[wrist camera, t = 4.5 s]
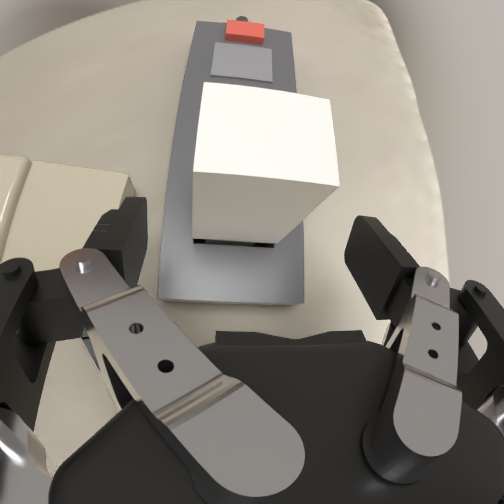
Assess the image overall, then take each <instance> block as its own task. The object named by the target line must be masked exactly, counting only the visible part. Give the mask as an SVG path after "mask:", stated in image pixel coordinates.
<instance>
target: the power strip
mask: <svg viewBox="0 0 504 504" xmlns="http://www.w3.org/2000/svg"><path fill="white" fill-rule="evenodd" d="M204 82H210V83H222V84H233V85H242V86H250V87H258V88H265V89H272V90H279V91H285V92H291V93H297V92H296V80H295V69H294V58H293V47H292V37H291V33H290V32H284V31H279V30H273V29H267V28H264V24H259V23H252V22H248V19H247V18H246V17H243V16H240V17H238V18H237V19H236V21H235V20H227V23H217V22H203V21H197V23H196V27H195V31H194V35H193V39H192V44H191V48H190V53H189V57H188V62H187V67H186V71H185V76H184V81H183V87H182V92H181V97H180V103H179V108H178V114H177V120H176V126H175V132H174V139H173V145H172V152H171V159H170V167H169V174H168V182H167V191H166V199H165V208H164V218H163V229H162V240H161V252H160V266H159V282H158V299H160V300H162V301H169V302H187V303H208V304H234V305H271V306H291V305H297V304H303V303H304V234H303V220H302V221H301V222H300V223H299V224H298V225H297V226H296V227H295V228H294V229H293V230H292V231H290V232H289V233H288V234H287V235H286V236H285V237H284V238H283V239H282V240H281V241H280V242H278V243H277V244H276V243H263V247H246V246H229V245H211V244H194V239H193V238H192V200H193V166H194V157H195V148H196V139H197V130H198V122H199V114H200V107H201V99H202V92H203V85H204Z"/></svg>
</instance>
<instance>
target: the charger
mask: <svg viewBox="0 0 504 504" xmlns="http://www.w3.org/2000/svg"><path fill="white" fill-rule="evenodd" d="M338 187H339V175H338V165H337V155H336V146H335V137H334V129H333V121H332V114H331V107H330V100H328V99H323V98H318V97H313V96H308V95H302V94H297V93H291V92H285V91H279V90H272V89H265V88H258V87H250V86H242V85H233V84H222V83H210V82H204V85H203V92H202V99H201V107H200V114H199V122H198V130H197V139H196V148H195V157H194V166H193V200H192V238H193V239H206V244H222V245H239V246H252V245H253V244H254V243H255V242H260V243H276V244H277V243H278V242H280V241H281V240H282V239H283V238H284V237H285V236H286V235H287V234H288V233H289V232H290V231H292V230H293V229H294V228H295V227H296V226H297V225H298V224H299V223H300V222H301V221H302V220H304V219H305V218H306V217H307V216H308V215H309V214H310V213H311V212H312V211H313V210H314V209H315V208H317V207H318V206H319V205H320V204H321V203H322V202H323V201H324V200H325V199H326V198H327V197H328V196H330V195H331V194H332V193H333V192H334V191H335V190H336V189H337V188H338Z"/></svg>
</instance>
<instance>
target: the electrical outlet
mask: <svg viewBox="0 0 504 504" xmlns="http://www.w3.org/2000/svg"><path fill="white" fill-rule="evenodd" d="M134 195H135V189H134V187H133V184H132V182H131V179H130V177H129V175H127V174H121V173H115V172H109V171H102V170H96V169H89V168H82V167H76V166H68V165H61V164H54V163H46V162H38V161H30V160H29V158H27V157H24V156H16V155H6V154H0V264H1V263H3V262H5V261H7V260H9V259H13V258H19V257H22V258H27V259H29V260H30V261H32V263H33V265H34V269H35V272H37V271H44V270H51V269H56V268H59V264H60V261H61V259H62V258H63V257H64V256H65V255H67V254H68V253H70V252H72V251H74V250H77V249H82V248H83V246H84V244H85V242H86V241H87V239H88V237H89V236H90V234H91V232H92V231H93V229H94V227H95V226H96V225H97V222H98V221H99V219H100V218H101V216H102V215H103V214H105V213H106V212H108V211H109V210H111V209H119V207H120V206H121V204H122V202H123V200H124V199H125V197H134Z"/></svg>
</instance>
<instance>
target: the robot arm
mask: <svg viewBox="0 0 504 504" xmlns="http://www.w3.org/2000/svg"><path fill="white" fill-rule="evenodd" d="M147 240H148V234H147V200H146V197H125V199H124V200H123V202H122V204H121V206H120V207H119V209H111V210H109V211H108V212H106V213H105V214H103V215H102V216H101V218H100V219H99V221H98V222H97V225H96V226H95V227H94V229H93V231H92V232H91V234H90V236H89V237H88V239H87V241H86V242H85V244H84V246H83V248H82V249H77V250H74V251H72V252H70V253H68V254H67V255H65V256H64V257H63V258H62V259H61V261H60V264H59V268H56V269H51V270H44V271H37V272H35V269H34V265H33V263H32V261H30V260H29V259H27V258H22V257H19V258H13V259H9V260H7V261H5V262H3V263H1V264H0V504H504V309H503V307H502V306H501V305H500V304H499V302H498V301H497V300H496V298H495V297H494V296H493V295H492V293H491V292H490V291H489V290H488V289H487V288H486V287H485V286H484V285H482V284H481V283H479V282H476V281H473V280H467V281H466V282H465V284H464V286H463V288H462V290H461V291H460V290H456V289H453V288H450V286H449V282H448V281H447V279H446V278H445V277H444V276H443V275H442V274H440V273H439V272H437V271H436V270H434V269H431V268H428V267H420V266H419V265H418V264H417V262H416V261H415V260H414V259H413V257H412V256H411V255H410V254H409V253H408V252H406V251H407V250H406V249H405V248H404V247H403V246H401V245H402V244H401V243H400V242H399V241H398V240H397V239H396V237H394V236H393V235H392V234H390V233H389V232H388V230H387V229H386V228H385V227H384V226H383V225H382V224H381V222H380V221H379V220H378V219H377V218H375V217H368V216H357V217H356V219H355V221H354V224H353V227H352V230H351V233H350V236H349V239H348V242H347V245H346V249H345V254H344V258H345V263H346V265H347V267H348V269H349V271H350V272H351V274H352V276H353V278H354V279H355V281H356V283H357V285H358V287H359V288H360V290H361V292H362V294H363V296H364V297H365V299H366V301H367V303H368V305H369V307H370V309H371V310H372V312H373V314H374V316H375V318H376V320H387V319H390V320H391V321H390V323H389V325H388V327H387V329H386V332H385V335H384V338H383V341H382V344H381V345H380V344H377V343H374V342H370V341H366V339H365V337H364V335H363V332H362V330H355V331H330V332H326V333H322V334H318V335H314V336H310V337H306V338H302V339H289V338H283V337H278V336H273V335H268V334H263V333H258V332H230V331H216V335H215V343H211V344H207V345H203V346H200V347H196V346H195V345H194V344H193V343H192V342H191V341H190V340H189V338H188V337H187V336H186V335H185V334H184V333H183V332H182V331H181V330H180V329H179V328H178V327H177V325H176V324H175V323H174V322H173V321H172V320H171V319H170V318H169V317H168V315H167V314H166V313H165V312H164V311H163V310H162V309H161V308H160V306H159V305H158V304H157V303H156V302H155V301H154V300H153V298H152V297H151V296H150V295H149V294H148V293H147V291H146V290H145V289H144V288H143V287H142V286H140V285H138V286H137V283H138V279H139V275H140V272H141V268H142V265H143V261H144V258H145V254H146V250H147ZM477 326H478V327H479V328H480V330H481V331H482V333H483V334H484V336H485V337H486V339H487V343H488V345H487V350H486V352H485V354H484V355H483V356H482V358H481V359H480V360H478V358H477V356H476V355H475V353H474V351H473V350H472V348H471V346H470V345H469V343H468V340H469V338H470V337H471V335H472V334H473V332H474V331H475V330H476V328H477ZM74 338H80V341H81V343H82V344H83V346H84V348H85V350H86V352H87V354H88V356H89V357H90V359H91V361H92V363H93V365H94V366H95V368H96V370H97V372H98V373H99V375H100V377H101V378H102V380H103V382H104V384H105V386H106V388H107V390H108V392H109V394H110V396H111V398H112V400H113V401H114V403H115V405H116V407H117V408H118V410H119V411H120V412H118V413H117V414H116V415H115V416H114V417H113V418H112V419H111V420H110V421H109V422H108V423H106V424H105V425H104V426H103V427H102V428H101V429H100V430H99V431H98V432H97V433H95V434H94V435H93V436H92V437H91V438H90V439H89V440H88V441H87V442H85V443H84V444H83V445H82V446H81V447H80V448H79V449H78V450H77V451H75V452H74V453H73V454H72V455H71V456H70V457H69V458H68V459H66V460H65V461H64V462H63V463H62V464H61V466H60V467H59V468H58V470H57V471H56V473H55V475H54V477H51V476H50V474H49V472H48V469H47V464H46V452H45V448H44V446H43V444H42V442H41V441H40V439H39V438H38V437H37V436H36V435H35V434H34V433H33V432H34V427H35V421H36V417H37V412H38V407H39V403H40V398H41V394H42V390H43V386H44V382H45V378H46V374H47V371H48V367H49V363H50V360H51V356H52V353H53V350H54V346H55V343H56V341H61V340H67V339H74Z"/></svg>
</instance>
